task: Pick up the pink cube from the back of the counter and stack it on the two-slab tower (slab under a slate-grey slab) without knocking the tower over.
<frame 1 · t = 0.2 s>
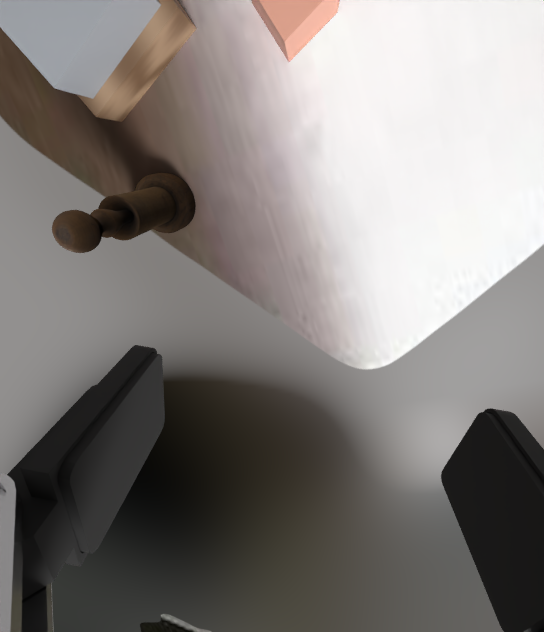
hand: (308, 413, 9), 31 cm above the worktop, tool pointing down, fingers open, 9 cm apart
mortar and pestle: (170, 201, 37), on the worktop
pink cube: (294, 8, 28), on the worktop
lower block: (113, 20, 30), on the worktop, touching upper block
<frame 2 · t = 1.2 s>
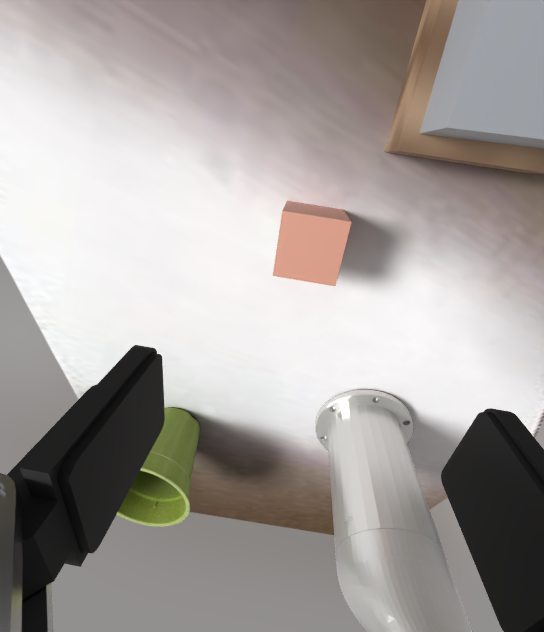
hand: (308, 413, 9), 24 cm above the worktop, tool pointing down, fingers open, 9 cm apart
plant pot: (177, 423, 46), on the worktop
pink cube: (309, 233, 30), on the worktop
lower block: (484, 76, 24), on the worktop
upper block: (526, 51, 19), point 5 cm above the worktop
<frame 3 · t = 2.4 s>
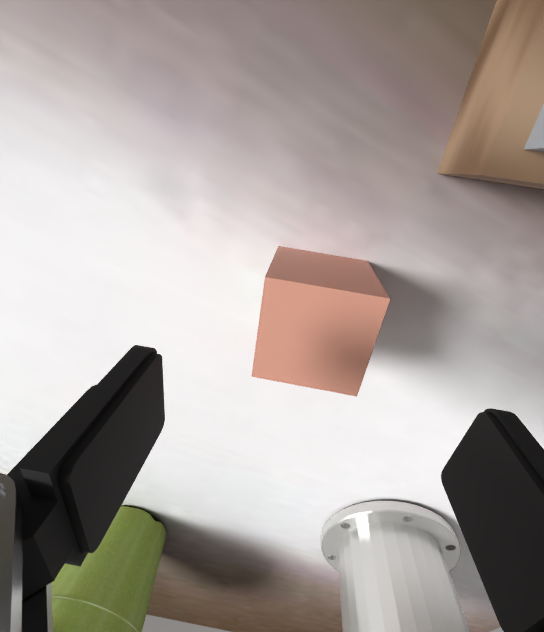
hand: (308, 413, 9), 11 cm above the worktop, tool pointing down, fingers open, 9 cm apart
plant pot: (137, 522, 34), on the worktop
pink cube: (313, 294, 20), on the worktop
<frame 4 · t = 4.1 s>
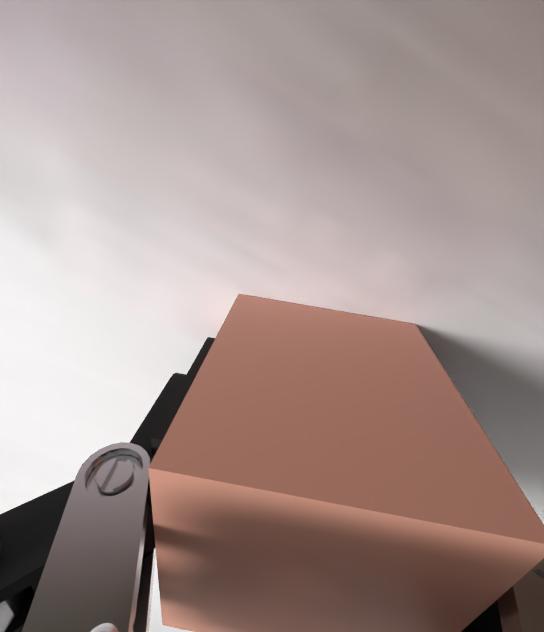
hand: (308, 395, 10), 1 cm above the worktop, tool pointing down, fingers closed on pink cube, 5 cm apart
pink cube: (309, 378, 11), on the worktop, touching gripper
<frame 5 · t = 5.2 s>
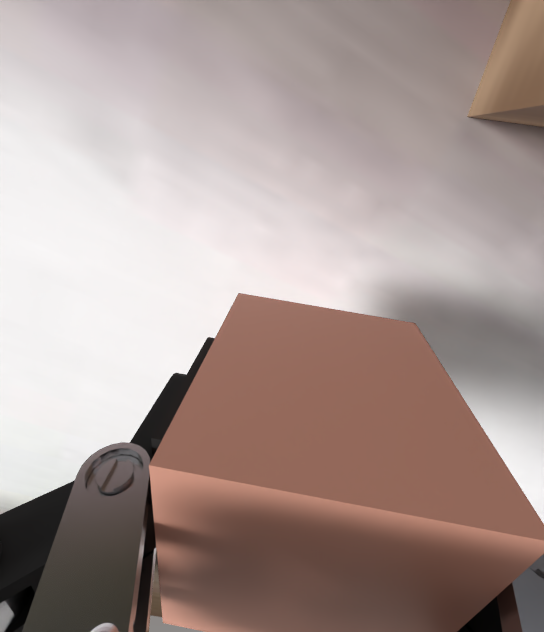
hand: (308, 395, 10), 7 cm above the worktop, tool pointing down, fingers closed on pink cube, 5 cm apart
pink cube: (308, 377, 11), point 6 cm above the worktop, touching gripper
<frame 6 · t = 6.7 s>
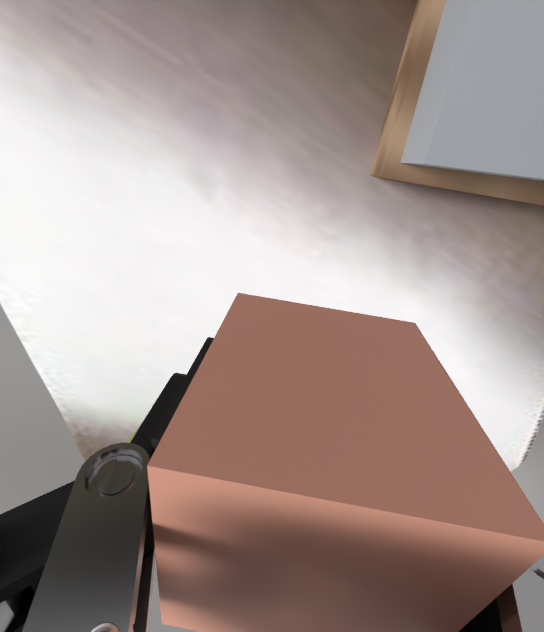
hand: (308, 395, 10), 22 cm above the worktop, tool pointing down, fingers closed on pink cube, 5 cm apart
pink cube: (308, 377, 11), point 21 cm above the worktop, touching gripper
lower block: (469, 102, 23), on the worktop
upper block: (507, 82, 19), point 5 cm above the worktop
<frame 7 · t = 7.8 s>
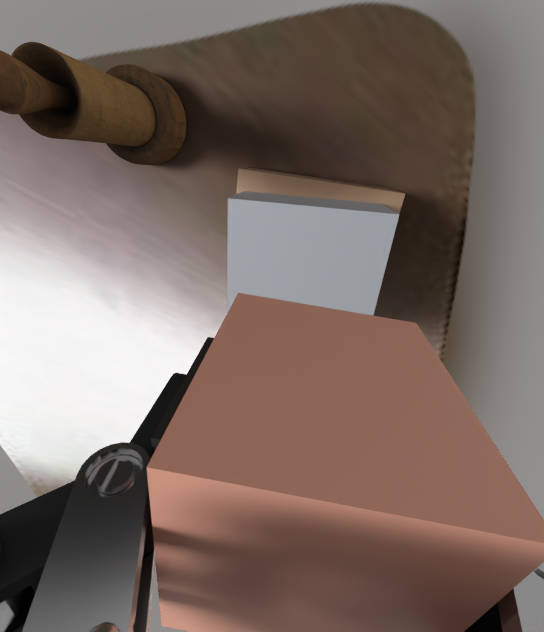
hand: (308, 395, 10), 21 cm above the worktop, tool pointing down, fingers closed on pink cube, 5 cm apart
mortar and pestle: (149, 121, 25), on the worktop
pink cube: (309, 377, 11), point 20 cm above the worktop, touching gripper
lower block: (306, 246, 29), on the worktop, touching upper block
upper block: (303, 263, 24), point 5 cm above the worktop, touching lower block
when the fingers open (12 cm above the worktop, at t = 9.3 s): pink cube drops 1 cm, resting on upper block.
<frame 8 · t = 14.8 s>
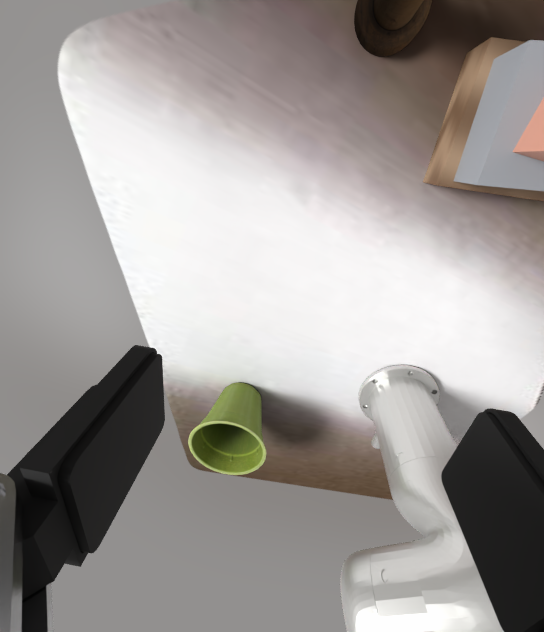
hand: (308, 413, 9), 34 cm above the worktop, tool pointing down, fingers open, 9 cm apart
plant pot: (241, 396, 55), on the worktop
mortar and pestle: (388, 15, 30), on the worktop
lower block: (496, 131, 33), on the worktop, touching upper block
upper block: (525, 129, 29), point 5 cm above the worktop, touching lower block, pink cube
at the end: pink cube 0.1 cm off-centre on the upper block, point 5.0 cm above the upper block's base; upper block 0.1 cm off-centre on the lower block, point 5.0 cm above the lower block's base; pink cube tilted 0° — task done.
